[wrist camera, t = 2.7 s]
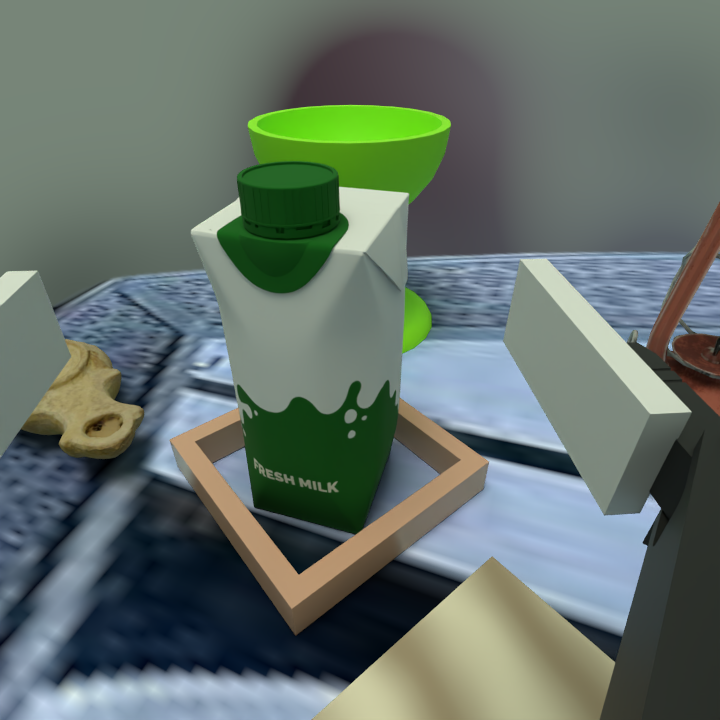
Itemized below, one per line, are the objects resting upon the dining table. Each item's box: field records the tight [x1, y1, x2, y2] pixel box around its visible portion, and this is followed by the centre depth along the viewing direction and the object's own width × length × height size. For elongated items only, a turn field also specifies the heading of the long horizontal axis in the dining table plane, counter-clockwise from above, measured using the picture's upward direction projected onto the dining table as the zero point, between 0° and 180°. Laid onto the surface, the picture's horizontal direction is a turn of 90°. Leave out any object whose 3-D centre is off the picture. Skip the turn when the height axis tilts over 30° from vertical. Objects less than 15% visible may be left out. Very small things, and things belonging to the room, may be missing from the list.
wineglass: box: [248, 105, 451, 354], centre depth 45 cm, size 16×16×18 cm
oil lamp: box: [21, 339, 144, 459], centre depth 36 cm, size 11×14×5 cm
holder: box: [170, 398, 489, 635], centre depth 32 cm, size 14×14×2 cm
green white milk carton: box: [191, 161, 409, 534], centre depth 27 cm, size 9×9×20 cm
